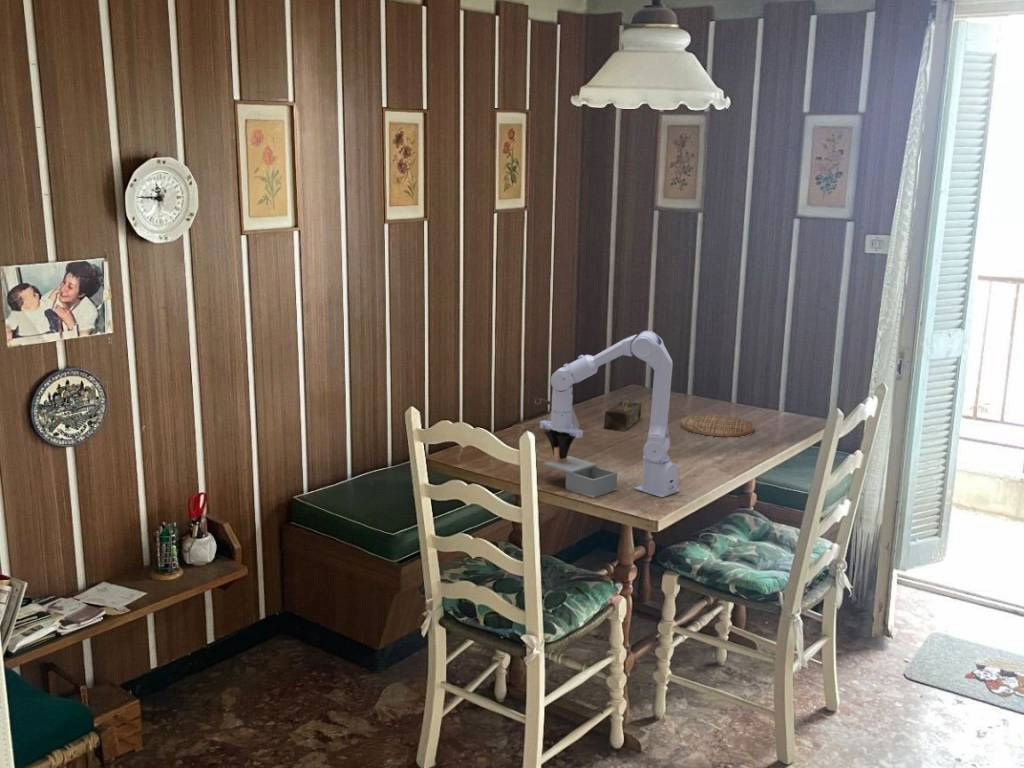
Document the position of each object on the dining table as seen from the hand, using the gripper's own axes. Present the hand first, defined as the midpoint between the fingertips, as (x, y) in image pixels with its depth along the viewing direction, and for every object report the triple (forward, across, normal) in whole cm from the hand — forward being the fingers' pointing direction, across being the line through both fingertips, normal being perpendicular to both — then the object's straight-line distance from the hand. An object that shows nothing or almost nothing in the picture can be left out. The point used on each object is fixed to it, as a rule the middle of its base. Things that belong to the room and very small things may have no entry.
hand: (560, 457), depth 285 cm
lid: (+2, -4, 0) cm, 4 cm away
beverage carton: (+7, +27, -62) cm, 68 cm away
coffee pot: (+7, +31, -32) cm, 45 cm away
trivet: (+7, +2, -83) cm, 83 cm away
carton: (+7, -12, 0) cm, 14 cm away
